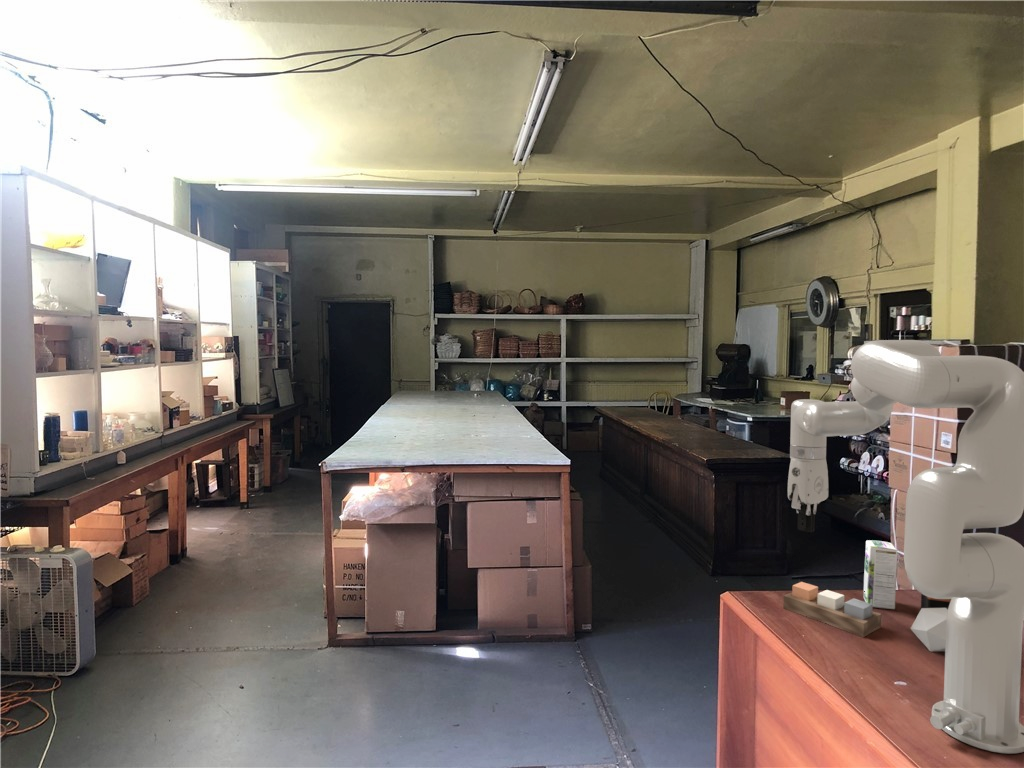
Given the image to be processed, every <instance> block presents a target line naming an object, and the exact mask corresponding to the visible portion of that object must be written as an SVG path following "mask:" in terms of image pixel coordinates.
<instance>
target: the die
mask: <svg viewBox="0 0 1024 768" xmlns="http://www.w3.org/2000/svg"><path fill="white" fill-rule="evenodd" d="M947 612H948V609H947V608H921V607H920V610H919V612H918V614H917V616H916V618H915V620H914V621H913V623H912V625H911V626H910V630H911V631H912V632H913V634H915V636H916V637H917V638H918V639H919V640H920V641H921V643H922V644H923V645H924V646H925V647H926V648H927V649H928V651H930V652H933V653H934V652H945V645H946V620H947Z"/></svg>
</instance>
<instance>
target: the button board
mask: <svg viewBox="0 0 1024 768" xmlns="http://www.w3.org/2000/svg"><path fill="white" fill-rule="evenodd" d="M817 599H818V598H816V599H814V600H812V601H807V600H804V599H801V598H798V597H795V596H792V592H789V593H787V594H784V595H783V600H782V601H783V609H785V610H788V611H790V612H793V613H795V614H798V615H802V616H804V617H806V616H807V617H806V618H809V619H812V620H814V619H815V621H817V620H818V621H817V622H820V621H821V623H823V624H825V623H827V624H826V625H828V624H829V626H831V627H834V628H837V629H840V630H842V631H845V632H848V633H850V634H853V635H856V636H858V637H861V638H865V637H866V636H869V635H870V634H871V633H873V632H875V631H878V630H879V629H881V628H882V613H881V612H877V611H874V610H872V616H871V617H869V618H867V619H866V620H862V619H859V618H856V617H853V616H850V615H847V614H845V613H844V607H842V608H840V609H838V610H833V609H830V608H827V607H824V606H821V605H818V604H817ZM845 602H846V601H844V605H845Z"/></svg>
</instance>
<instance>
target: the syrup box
mask: <svg viewBox="0 0 1024 768" xmlns="http://www.w3.org/2000/svg"><path fill="white" fill-rule="evenodd" d="M864 552H865V554H864V555H865V556H864V569H863V570H864V573H863V599H864V602H867V603H870V604H873V608H879V609H889V610H896V595H897V594H896V590H897V570H898V569H897V567H898V549H897V548H896V546H894V544H893V543H892V542H888V541H882V540H873V539H872V540H870V539H869V540H868V539H867V540H866V541H865V551H864ZM864 591H865V592H864Z"/></svg>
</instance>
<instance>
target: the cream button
mask: <svg viewBox="0 0 1024 768" xmlns="http://www.w3.org/2000/svg"><path fill="white" fill-rule="evenodd" d="M844 602H845V595H844V594H842V593H839V592H836V591H832V590H829V589H826V590H823V591H820V592H818V599H817V604H818V605H821V606H824V607H827V608H830V609H833V610H838V609H840V608H842V607H844Z"/></svg>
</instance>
